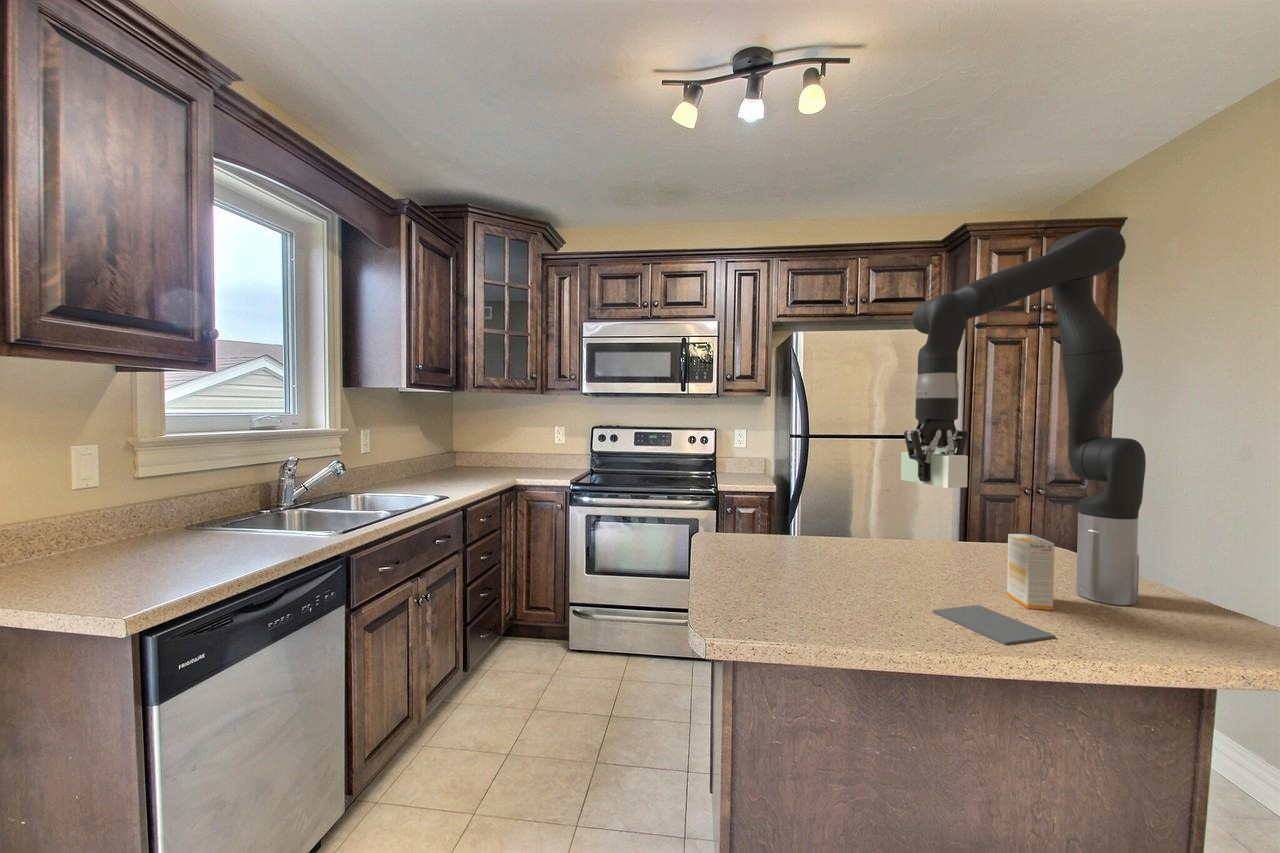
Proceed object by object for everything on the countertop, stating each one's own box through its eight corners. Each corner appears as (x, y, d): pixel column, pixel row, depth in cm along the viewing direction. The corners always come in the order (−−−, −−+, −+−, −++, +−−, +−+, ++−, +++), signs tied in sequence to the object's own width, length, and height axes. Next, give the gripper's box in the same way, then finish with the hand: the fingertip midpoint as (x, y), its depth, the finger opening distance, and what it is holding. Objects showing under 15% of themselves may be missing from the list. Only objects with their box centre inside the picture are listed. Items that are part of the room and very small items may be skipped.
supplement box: (1054, 611, 100) (1056, 543, 99) (1026, 608, 101) (1028, 541, 100) (1031, 596, 108) (1033, 533, 107) (1005, 594, 109) (1007, 532, 108)
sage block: (918, 451, 112) (967, 455, 100) (918, 479, 112) (967, 487, 100) (901, 451, 110) (948, 456, 99) (900, 480, 110) (947, 488, 99)
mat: (978, 606, 101) (978, 604, 101) (1055, 637, 87) (1055, 635, 87) (932, 612, 98) (932, 610, 98) (1004, 644, 84) (1004, 642, 84)
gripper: (922, 395, 99) (920, 484, 99) (981, 396, 103) (979, 482, 103) (893, 396, 106) (891, 479, 106) (949, 397, 110) (947, 478, 110)
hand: (935, 480), depth 105 cm, fingers closed on sage block, 4 cm apart
